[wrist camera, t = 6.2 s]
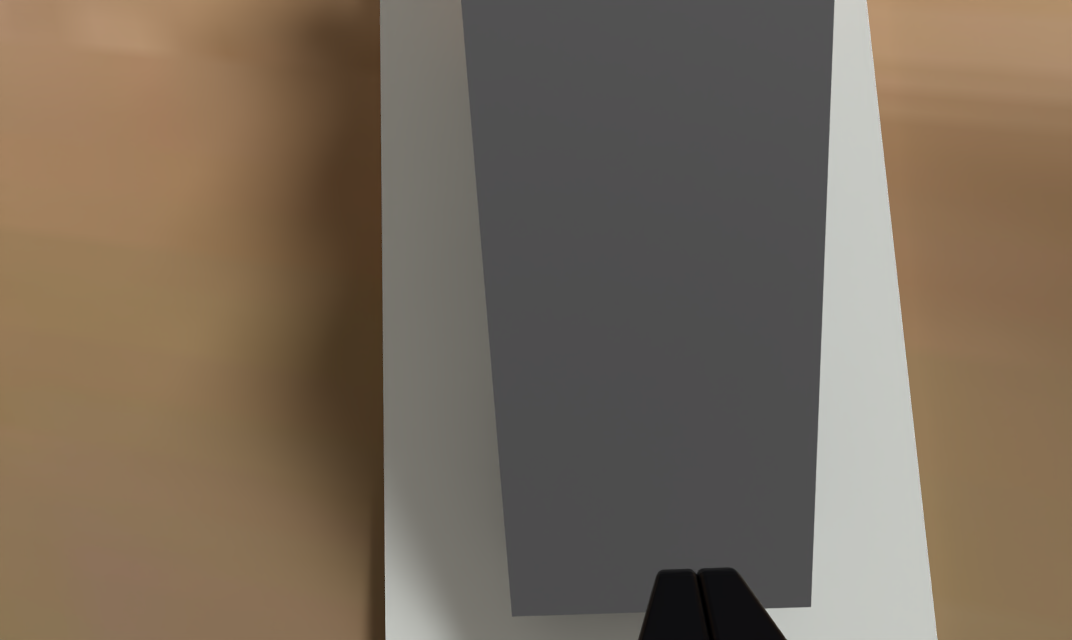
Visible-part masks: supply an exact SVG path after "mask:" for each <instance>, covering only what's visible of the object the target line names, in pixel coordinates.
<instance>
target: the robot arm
mask: <svg viewBox="0 0 1072 640" xmlns="http://www.w3.org/2000/svg"><path fill="white" fill-rule="evenodd" d="M638 640H787V639H786V638H785V636H784V635H783V633H782V632H781V631H780V629H779V628H778V626H777V625H776V624H775V622H774V621H773V619H772V618H771V617H770V615H769V614H768V612H767V611H766V610H765V608H764V607H763V605H762V604H761V603H760V601H759V600H758V598H757V597H756V596H755V594H754V593H753V591H752V590H751V589H750V587H749V586H748V584H747V583H746V582H745V580H744V579H743V577H742V576H741V575H740V573H739V572H738V571H737V570H735V569H733V568H730V567H720V568H702V569H700V570H698V572H697V574H696V573H695V571H693V570H692V569H663V570H660V571H659V572H658V573H657V575H656V578H655V581H654V584H653V588H652V592H651V595H650V599H649V602H648V606H647V609H646V613H645V616H644V620H643V623H642V627H641V631H640V634H639V638H638Z"/></svg>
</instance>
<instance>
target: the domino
mask: <svg viewBox="0 0 1072 640" xmlns="http://www.w3.org/2000/svg"><path fill="white" fill-rule="evenodd" d="M834 2H835V0H461V6H462V19H463V31H464V43H465V55H466V67H467V79H468V91H469V103H470V115H471V127H472V139H473V151H474V163H475V176H476V188H477V200H478V212H479V224H480V236H481V248H482V260H483V272H484V284H485V296H486V308H487V321H488V333H489V345H490V357H491V369H492V381H493V393H494V405H495V417H496V429H497V441H498V453H499V465H500V478H501V490H502V502H503V514H504V526H505V538H506V550H507V562H508V574H509V586H510V598H511V610H512V617H514V616H546V615H577V614H609V613H641V612H646V609H647V606H648V602H649V599H650V595H651V592H652V588H653V584H654V581H655V578H656V575H657V573H658V572H659V571H660V570H663V569H692V570H693V571H695V573H696V574H697V572H698V570H700V569H702V568H720V567H730V568H733V569H735V570H737V571H738V572H739V573H740V575H741V576H742V577H743V579H744V580H745V582H746V583H747V584H748V586H749V587H750V589H751V590H752V591H753V593H754V594H755V596H756V597H757V598H758V600H759V601H760V603H761V604H762V605H763V607H764V608H765V609H767V608H799V607H811V596H812V570H813V544H814V518H815V493H816V467H817V441H818V415H819V389H820V364H821V338H822V312H823V286H824V260H825V235H826V209H827V183H828V157H829V131H830V106H831V80H832V54H833V28H834Z"/></svg>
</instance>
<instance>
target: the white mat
mask: <svg viewBox="0 0 1072 640" xmlns="http://www.w3.org/2000/svg"><path fill="white" fill-rule="evenodd" d="M380 64H381V177H382V290H383V404H384V517H385V631H386V640H638V638H639V634H640V631H641V627H642V623H643V620H644V616H645V613H646V612H641V613H609V614H577V615H546V616H514V617H512V610H511V598H510V586H509V574H508V562H507V550H506V538H505V526H504V514H503V502H502V490H501V478H500V465H499V453H498V441H497V429H496V417H495V405H494V393H493V381H492V369H491V357H490V345H489V333H488V321H487V308H486V296H485V284H484V272H483V260H482V248H481V236H480V224H479V212H478V200H477V188H476V176H475V163H474V151H473V139H472V127H471V115H470V103H469V91H468V79H467V67H466V55H465V43H464V31H463V19H462V6H461V0H380ZM765 610H766V611H767V612H768V614H769V615H770V617H771V618H772V619H773V621H774V622H775V624H776V625H777V626H778V628H779V629H780V631H781V632H782V633H783V635H784V636H785V638H786V639H787V640H937V632H936V623H935V614H934V605H933V596H932V587H931V578H930V569H929V560H928V551H927V542H926V533H925V524H924V515H923V506H922V497H921V488H920V479H919V470H918V461H917V452H916V443H915V434H914V425H913V415H912V406H911V397H910V388H909V379H908V370H907V361H906V352H905V343H904V334H903V325H902V316H901V307H900V298H899V289H898V280H897V271H896V262H895V253H894V244H893V235H892V226H891V217H890V208H889V199H888V190H887V181H886V172H885V163H884V154H883V145H882V136H881V127H880V117H879V108H878V99H877V90H876V81H875V72H874V63H873V54H872V45H871V36H870V27H869V18H868V9H867V0H835V2H834V28H833V54H832V80H831V106H830V131H829V157H828V183H827V209H826V235H825V260H824V286H823V312H822V338H821V364H820V389H819V415H818V441H817V467H816V493H815V518H814V544H813V570H812V596H811V607H799V608H767V609H765Z"/></svg>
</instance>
